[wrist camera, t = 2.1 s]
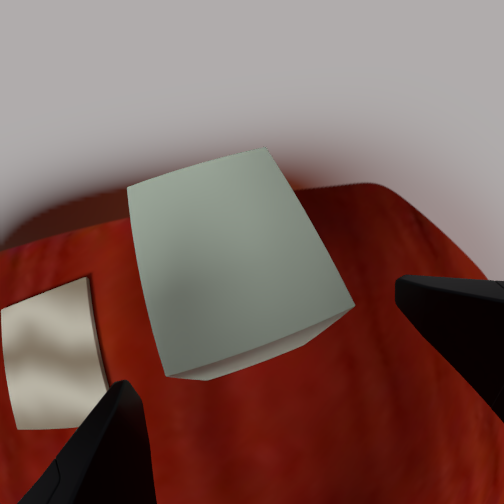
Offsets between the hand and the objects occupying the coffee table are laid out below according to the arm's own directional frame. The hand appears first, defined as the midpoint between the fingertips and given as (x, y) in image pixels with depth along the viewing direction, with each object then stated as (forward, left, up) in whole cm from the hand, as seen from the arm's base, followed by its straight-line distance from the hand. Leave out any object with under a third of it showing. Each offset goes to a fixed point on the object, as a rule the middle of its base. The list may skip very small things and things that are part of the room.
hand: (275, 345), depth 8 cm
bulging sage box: (+4, -3, -11) cm, 12 cm away
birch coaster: (+14, +11, -11) cm, 21 cm away
